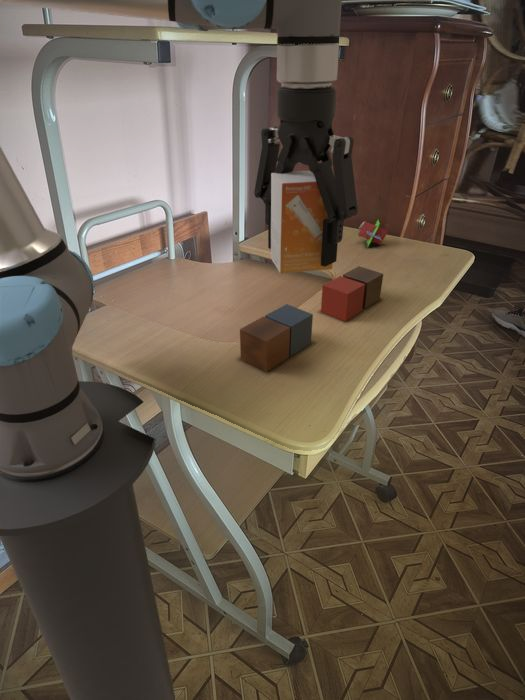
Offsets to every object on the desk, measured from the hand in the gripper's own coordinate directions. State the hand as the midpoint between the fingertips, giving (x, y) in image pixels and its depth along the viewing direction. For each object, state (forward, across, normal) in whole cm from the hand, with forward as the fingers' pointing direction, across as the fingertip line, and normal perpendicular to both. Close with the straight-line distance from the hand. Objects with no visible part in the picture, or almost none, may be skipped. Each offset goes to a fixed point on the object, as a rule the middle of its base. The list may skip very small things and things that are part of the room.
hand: (301, 254), depth 74 cm
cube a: (+20, +6, +2) cm, 21 cm away
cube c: (+20, +6, -21) cm, 30 cm away
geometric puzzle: (+20, +23, -58) cm, 66 cm away
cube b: (+20, +6, -4) cm, 21 cm away
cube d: (+20, +6, -28) cm, 35 cm away
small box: (+2, 0, 0) cm, 2 cm away
